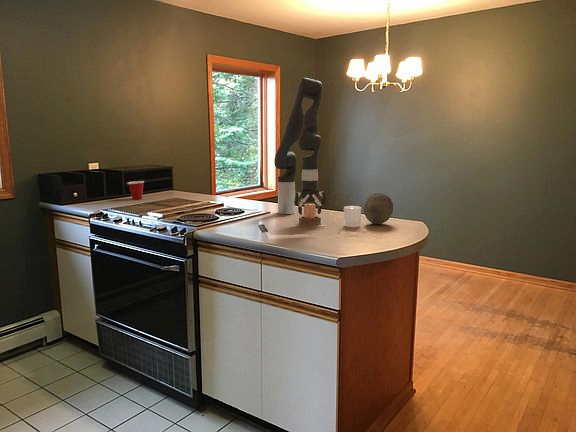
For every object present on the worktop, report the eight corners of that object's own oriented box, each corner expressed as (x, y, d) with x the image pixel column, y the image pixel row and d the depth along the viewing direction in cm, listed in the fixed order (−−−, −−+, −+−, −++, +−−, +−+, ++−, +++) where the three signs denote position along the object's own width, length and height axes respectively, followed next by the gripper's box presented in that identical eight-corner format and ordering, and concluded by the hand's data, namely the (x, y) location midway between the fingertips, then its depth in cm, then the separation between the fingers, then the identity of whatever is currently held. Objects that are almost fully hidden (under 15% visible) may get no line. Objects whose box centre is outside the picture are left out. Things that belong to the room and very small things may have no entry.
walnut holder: (292, 224, 219) (292, 215, 219) (320, 223, 222) (320, 214, 221) (297, 230, 206) (297, 220, 205) (328, 229, 208) (328, 219, 207)
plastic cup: (128, 198, 312) (127, 181, 310) (145, 197, 315) (144, 180, 313) (128, 200, 302) (126, 182, 300) (145, 200, 305) (144, 182, 303)
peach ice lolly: (302, 222, 216) (302, 203, 214) (314, 222, 217) (314, 203, 215) (306, 226, 207) (306, 206, 206) (318, 226, 208) (318, 206, 206)
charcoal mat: (258, 225, 217) (258, 224, 216) (283, 224, 219) (283, 223, 219) (262, 231, 203) (262, 230, 203) (289, 230, 205) (289, 229, 205)
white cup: (359, 227, 213) (359, 205, 211) (362, 230, 205) (363, 208, 204) (342, 227, 213) (342, 205, 211) (344, 230, 205) (345, 208, 203)
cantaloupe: (357, 223, 222) (358, 192, 220) (382, 221, 227) (383, 191, 225) (372, 228, 209) (373, 195, 207) (399, 226, 214) (400, 194, 212)
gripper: (323, 178, 215) (322, 212, 218) (293, 178, 212) (293, 213, 215) (327, 179, 207) (326, 215, 210) (296, 180, 205) (296, 216, 208)
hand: (309, 214), depth 213 cm, fingers open, 8 cm apart
